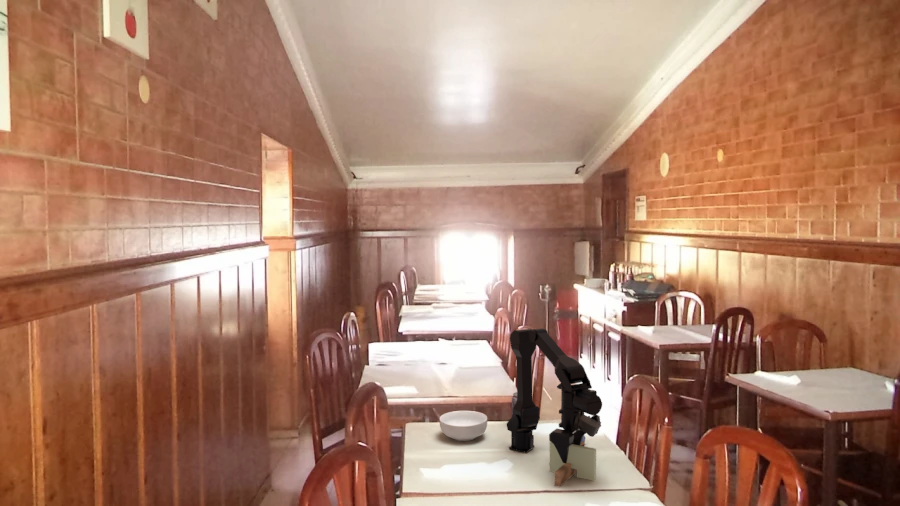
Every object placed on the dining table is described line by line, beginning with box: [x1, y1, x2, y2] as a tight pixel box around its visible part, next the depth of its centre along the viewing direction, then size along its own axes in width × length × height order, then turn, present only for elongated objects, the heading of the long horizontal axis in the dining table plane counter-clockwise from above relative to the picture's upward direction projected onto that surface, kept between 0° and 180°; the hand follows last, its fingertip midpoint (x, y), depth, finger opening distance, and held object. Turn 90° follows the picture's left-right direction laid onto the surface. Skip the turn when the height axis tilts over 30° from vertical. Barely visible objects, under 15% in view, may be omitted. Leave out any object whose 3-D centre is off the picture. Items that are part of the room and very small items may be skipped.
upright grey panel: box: [549, 441, 597, 482], centre depth 194 cm, size 14×2×9 cm, turn 58°
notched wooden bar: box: [554, 463, 577, 488], centre depth 194 cm, size 20×2×4 cm, turn 147°
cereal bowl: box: [439, 410, 488, 442], centre depth 227 cm, size 17×17×7 cm
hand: (570, 457), depth 194 cm, fingers open, 9 cm apart
